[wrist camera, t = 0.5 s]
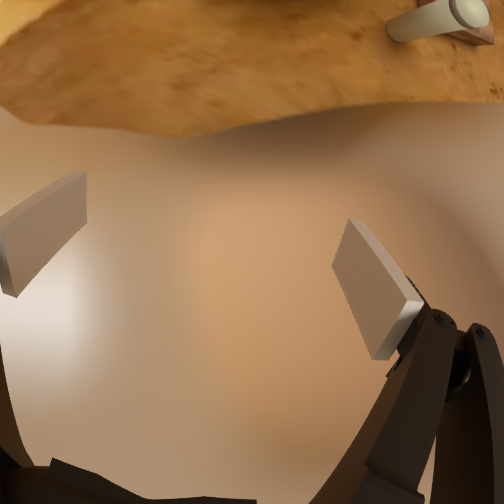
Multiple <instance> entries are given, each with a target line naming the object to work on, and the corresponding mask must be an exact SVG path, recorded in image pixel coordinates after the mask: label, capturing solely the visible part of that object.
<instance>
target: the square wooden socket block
mask: <svg viewBox="0 0 504 504" xmlns="http://www.w3.org/2000/svg"><path fill="white" fill-rule="evenodd" d="M417 1H418V8H419V7H422V6H424V5H427V4H430V3H432V2H435V1H438V0H417ZM482 1H483V3H484V4H485V6H486V8H487V10H488V13H489V23H488V25H487V26H485V27H480V28H475V29H465V30H459V31H453V32H448V33H445V34H448V35H451V36H453V37H456V38H458V39H461V40H463V41H466V42H468V43H471V44H473V45H475V46H480V45H495V43H494V33H493V25H492V17H491V11H490V5H489V0H482Z"/></svg>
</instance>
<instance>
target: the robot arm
mask: <svg viewBox="0 0 504 504" xmlns="http://www.w3.org/2000/svg"><path fill="white" fill-rule="evenodd" d="M86 180H87V172H79V171H73V172H72V173H70V174H68V175H66V176H64V177H62V178H61V179H59V180H57V181H55V182H54V183H52V184H50V185H49V186H47V187H45V188H44V189H42V190H41V191H39V192H37V193H36V194H34V195H32V196H31V197H29V198H28V199H26V200H25V201H23V202H22V203H20V204H19V205H17V206H16V207H14V208H13V209H11V210H10V211H8V212H7V213H5V214H4V215H3V216H1V217H0V284H1V288H2V291H3V293H4V294H7V295H10V296H13V297H16V298H17V297H18V296H19V294H20V293H21V292H22V291H23V290H24V288H25V287H26V286H27V285H28V284H29V283H30V281H31V280H32V279H33V278H34V277H35V276H36V275H37V273H38V272H39V271H40V270H41V269H42V268H43V267H44V266H45V265H46V264H47V263H48V261H49V260H50V259H51V258H52V257H53V256H54V255H55V254H56V253H57V252H58V251H59V250H60V249H61V248H62V247H63V246H64V245H65V244H66V243H67V242H68V241H69V240H70V239H71V238H72V237H73V236H74V235H75V234H76V233H77V232H78V231H79V230H80V228H82V227H83V226H84V225H85V224H86V223H87V215H86V182H87V181H86ZM332 267H333V270H334V272H335V274H336V276H337V278H338V281H339V283H340V285H341V287H342V290H343V292H344V294H345V296H346V299H347V301H348V303H349V306H350V308H351V310H352V313H353V315H354V317H355V319H356V322H357V324H358V327H359V329H360V332H361V334H362V337H363V339H364V341H365V344H366V346H367V349H368V351H369V354H370V356H371V359H372V360H389V359H390V357H391V356H392V354H393V353H394V351H395V350H396V348H397V350H398V353H399V355H400V357H399V358H398V360H397V361H396V362H395V364H394V365H393V367H392V368H391V370H390V371H389V372H388V374H387V375H386V377H388V379H387V381H386V383H385V385H384V387H383V389H382V391H381V393H380V395H379V397H378V399H377V401H376V402H375V404H374V406H373V408H372V410H371V411H370V413H369V415H368V417H367V419H366V420H365V422H364V424H363V425H362V427H361V429H360V431H359V432H358V434H357V436H356V437H355V439H354V440H353V442H352V444H351V445H350V447H349V448H348V450H347V452H346V453H345V455H344V456H343V458H342V459H341V461H340V462H339V464H338V465H337V467H336V468H335V470H334V471H333V473H332V474H331V475H330V477H329V478H328V479H327V481H326V482H325V484H324V485H323V486H322V488H321V489H320V491H319V492H318V493H317V494H316V496H315V497H314V498H313V499H312V500H311V501H310V503H309V504H424V502H425V498H424V495H423V494H421V493H419V492H418V491H417V488H418V485H419V482H420V479H421V477H422V474H423V472H424V469H425V466H426V464H427V461H428V458H429V455H430V452H431V449H432V446H433V443H434V439H435V436H436V448H435V463H434V473H433V482H432V490H431V498H430V504H504V366H503V363H502V359H501V356H500V353H499V350H498V347H497V344H496V341H495V338H494V336H493V335H492V333H491V332H490V330H489V329H488V328H487V327H485V326H482V325H481V324H478V323H473V324H472V325H471V326H470V328H469V329H468V331H467V332H463V331H460V330H457V326H456V323H455V322H454V320H453V319H452V318H451V317H450V316H449V315H448V314H446V313H445V312H443V311H441V310H438V309H431V308H430V306H429V305H428V303H427V302H426V300H425V299H424V298H423V296H422V295H421V294H420V293H419V291H418V289H417V288H416V287H415V285H414V284H413V283H412V281H411V280H410V279H409V278H408V277H407V276H406V275H405V274H403V272H402V271H401V270H400V269H399V267H398V266H397V264H396V263H395V262H394V261H393V259H392V258H391V257H390V256H389V254H388V253H387V251H386V250H385V249H384V248H383V246H382V245H381V244H380V243H379V241H378V240H377V239H376V238H375V236H374V235H373V234H372V233H371V232H370V230H369V229H368V228H367V227H366V226H365V224H364V223H363V222H362V221H358V220H354V219H349V220H348V222H347V225H346V228H345V231H344V234H343V236H342V239H341V242H340V245H339V248H338V250H337V253H336V255H335V258H334V261H333V263H332ZM468 378H469V379H468ZM467 379H468V381H467V382H466V380H467ZM0 504H257V501H256V500H249V499H229V498H216V497H206V496H202V497H193V498H179V499H156V500H155V499H154V500H152V499H146V498H143V497H140V496H138V495H136V494H134V493H132V492H130V491H128V490H126V489H124V488H122V487H120V486H118V485H116V484H114V483H112V482H111V481H109V480H107V479H105V478H103V477H102V476H100V475H98V474H96V473H93V472H90V471H87V470H84V469H81V468H78V467H75V466H73V465H70V464H68V463H65V462H62V461H60V460H57V459H55V458H52V460H51V463H50V466H34V464H33V462H32V460H31V458H30V457H29V455H28V454H27V452H26V450H25V448H24V446H23V443H22V440H21V437H20V434H19V431H18V427H17V424H16V420H15V417H14V413H13V409H12V405H11V401H10V396H9V392H8V387H7V382H6V377H5V372H4V366H3V360H2V353H1V346H0Z"/></svg>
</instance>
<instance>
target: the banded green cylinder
mask: <svg viewBox="0 0 504 504" xmlns="http://www.w3.org/2000/svg"><path fill="white" fill-rule="evenodd" d="M488 23H489V13H488V10H487V8H486V6H485V4H484V3H483V1H482V0H438V1H435V2H432V3H430V4H427V5H424V6H422V7H419V8H417V9H414V10H412V11H409V12H407V13H404V14H402V15H399V16H397V17H395V18H393V19H390V20H389V21H388V22H387V25H386V29H387V32H388V34H389V36H390V37H391V38H392V39H393V40H395V41H397V42H400V43H403V42H407V41H411V40H415V39H419V38H424V37H428V36H433V35H438V34H442V33H448V32H453V31H459V30H465V29H475V28H480V27H485V26H487V25H488Z"/></svg>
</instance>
